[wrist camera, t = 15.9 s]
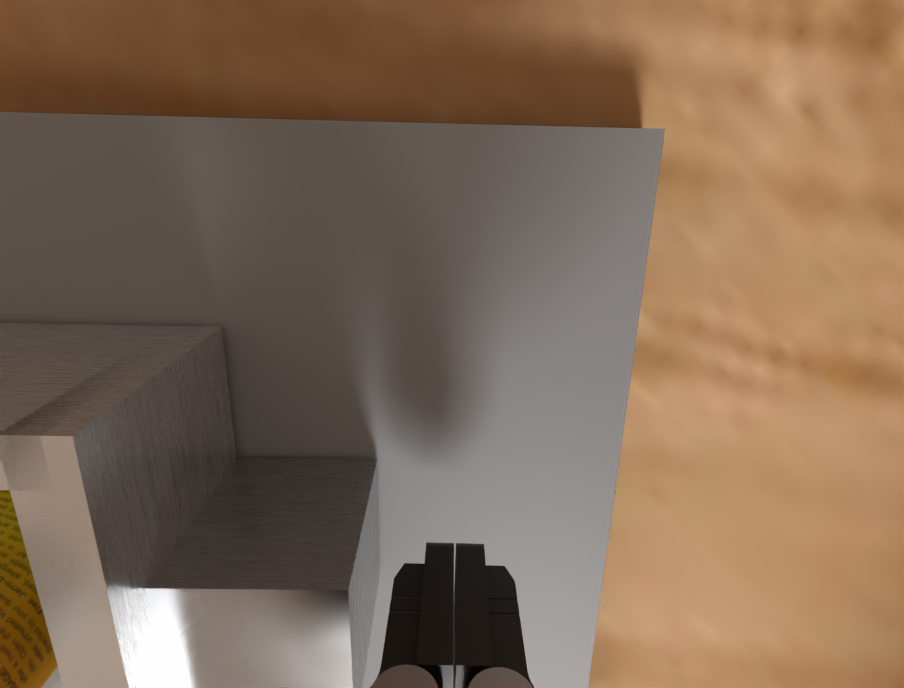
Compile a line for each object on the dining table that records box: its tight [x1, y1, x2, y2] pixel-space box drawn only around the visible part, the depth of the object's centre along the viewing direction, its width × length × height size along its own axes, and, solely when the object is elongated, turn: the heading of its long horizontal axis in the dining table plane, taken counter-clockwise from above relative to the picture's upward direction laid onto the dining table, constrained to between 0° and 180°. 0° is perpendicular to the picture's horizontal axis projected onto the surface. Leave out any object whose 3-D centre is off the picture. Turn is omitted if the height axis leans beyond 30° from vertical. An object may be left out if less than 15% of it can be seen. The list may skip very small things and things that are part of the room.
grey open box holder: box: [0, 323, 380, 688], centre depth 13 cm, size 12×14×6 cm
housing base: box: [0, 112, 665, 688], centre depth 16 cm, size 22×24×4 cm
